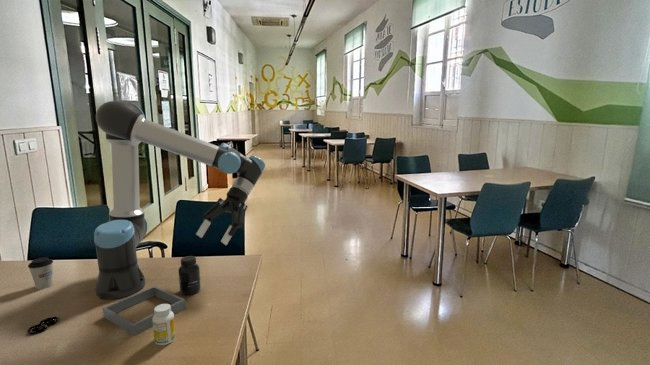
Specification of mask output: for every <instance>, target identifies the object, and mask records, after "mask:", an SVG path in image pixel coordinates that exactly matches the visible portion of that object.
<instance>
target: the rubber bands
mask: <svg viewBox="0 0 650 365" xmlns="http://www.w3.org/2000/svg"><path fill="white" fill-rule="evenodd" d="M53 319H54V320H53ZM55 319H56V320H55ZM58 320H59V317H58V316H51V317H47V318H45V319H42V320H41V321H39V323H37V324H35V325H32V326H30V327H29V328H28V329H27V333H28V334H30V335H35V333H36V334H39V333H42V331H43V332H45V331H47V330H48V327H51V326H54V325H55V324H56V323H57V322H58ZM43 322H44V323H43ZM41 324H42V325H41ZM34 327H35V328H34ZM37 327H38V328H37ZM32 328H33V329H32ZM30 330H31V331H30ZM38 332H39V333H38Z"/></svg>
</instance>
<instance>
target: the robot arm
mask: <svg viewBox="0 0 650 365" xmlns="http://www.w3.org/2000/svg"><path fill="white" fill-rule="evenodd" d="M95 121H96V123H97V126H98V127H99V129H101V131H102V132H103V133H105V140H106V141H108V143H109V144H110V145H111V167H112V168H111V173H112V177H111V178H112V202H113V204H112V205H113V208H112V210H110V211H109V213H108V218H109V220H108V221H107V222H105V223H101V224H100V225H98V226H97V227H96V228H95V230H94V234H93V235H94V236H93V241H94V244H95V245H94V246H95V251H96V260H97V264H98V265H97V267H98V275H97V279H96V284H95V286H94V290H95V291H94V292H95V295H96V296H97V298H99V299H104V300H115V299H119V298H120V299H121V298H125V297H129V296H132V295H134V294H137V293H139V292H140V291H142V289H143V288H144V287H145V286H146V278H145V275H144V273H143V271H142V269H141V268H140V265H139V264H138V254H137V247H138V245H139V244H140V243H141V242H142V240H143V239H145V236H146V234H147V232H148V222H147V219H146V218H145V210H144V209H143V208H141V203H140V201H141V199H140V165H139V162H140V161H139V160H140V159H139V145H140V144H141V143H144V144H147V145H150V146H153V147H155V148H158V149H161V150H164V151H167V152H170V153H172V154H175V155H179V156H182V157H184V158H187V159H189V160H193V161H196V162H198V163H201V164H203V165H207V166H210V167H212V168H215V169H217V170H219V171H221V172H223V173H225V174H227V175H232V174H234V173H236V174H237V177H236V179H235V180H234V181H233V183H232V184H231V187H229V190H228V191H227V193H226V198H225V199H223V198H221V197H219V198H218V199H217V201H216V202H215V203H214V204H213V205H211V207H210V208H209V209H207V210H206V211H205V212H204V213H203V214H202V216H201V217H202V218H203V221H202V223H201V224H200V226H199V228H198V230H197V232H195V235H196V236H198V237H199V238H201V239H202V238H203V237H204V236H205V234H206V232H207V230H208V229H209V227H210V225H211V224H212V221H213V220H215V219H216V218H217V217H219V216H221V215H222V214H227V213H230V215H231V224H229V225H228V228H227V230H226V231H225V233H224V234H223V237H222V239H220V242H221V243H222V244H223V245H225V246H227V245H228V244H229V241H230V240H231V238H232V237H233V236H234V235H235V233H236V232H237V230H238V229H243V228H244V224H245V218H246V211H247V209H248V206H249V205H247V204H246V203H245V202H246V201H247V199H248V196H250V194H251V192H252V190H253V188H254V187H255V186H256V184H257V182H258V181H259V179H260V178H261V175H262V174H263V171H264V170H265V168H266V163H265V161H264V160H263V159H262V158H261V157H257V156H256V155H250V156H249V157H247V156H245V155H244V154H243V153H241V152H240V151H238V150H236V149H235V148H234V147H232V146H231V145H229V144H227V143H225V142H222V143H221V144H220V145H219V146H218V145H216V144H213V143H210V142H209V141H208V142H207V141H205V140H203V139H200V138H198V137H194V136H191V135H189V134H186V133H183V132H181V131H179V130H176V129H173V128H170V127H168V126H165V125H162V124H160V123H157V122H154V121H151V120H149V119H146V116H145V114H144V112H143V110H142V109H141V108H140V107H139V106H137V105H136V104H134V103H131V102H126V101H119V100H110V101H107V102H104V103H102V104H101V105H100V106H99V107H98V109H97V110H96V113H95Z"/></svg>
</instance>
